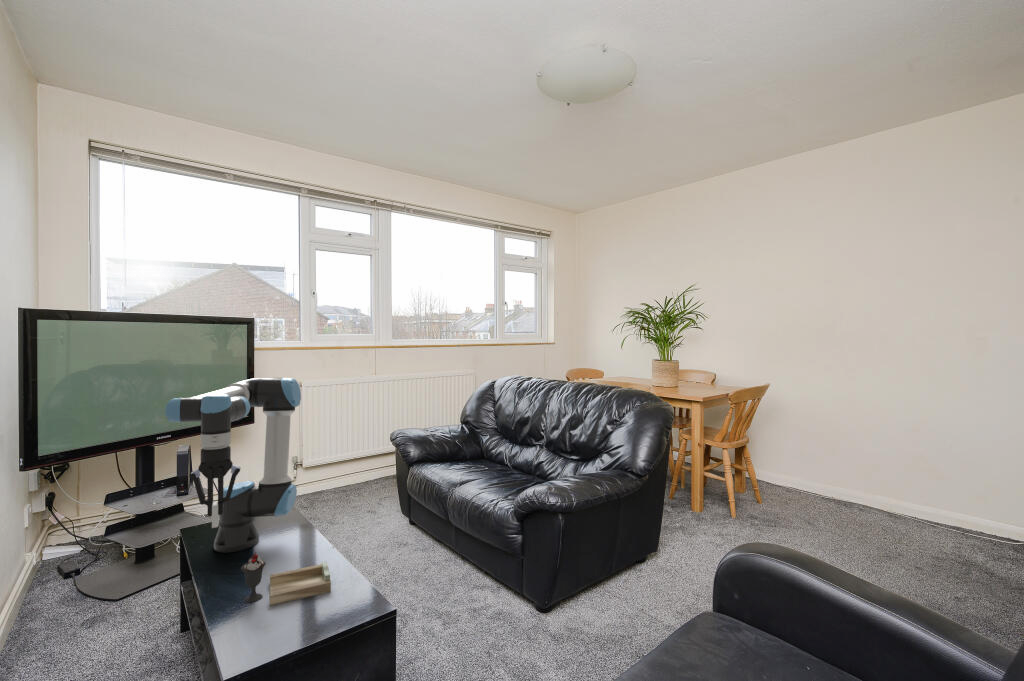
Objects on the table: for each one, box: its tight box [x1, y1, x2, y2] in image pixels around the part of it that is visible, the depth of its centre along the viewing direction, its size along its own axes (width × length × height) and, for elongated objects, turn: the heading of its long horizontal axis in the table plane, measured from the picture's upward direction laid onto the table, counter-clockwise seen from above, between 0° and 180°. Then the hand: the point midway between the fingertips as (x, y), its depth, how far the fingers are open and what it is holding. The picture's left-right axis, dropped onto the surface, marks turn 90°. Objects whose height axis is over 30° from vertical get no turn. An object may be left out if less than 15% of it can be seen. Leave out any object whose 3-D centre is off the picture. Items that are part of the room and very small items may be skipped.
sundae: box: [240, 551, 267, 604], centre depth 140 cm, size 7×7×15 cm
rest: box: [269, 561, 332, 607], centre depth 146 cm, size 14×17×4 cm
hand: (215, 525), depth 135 cm, fingers closed
